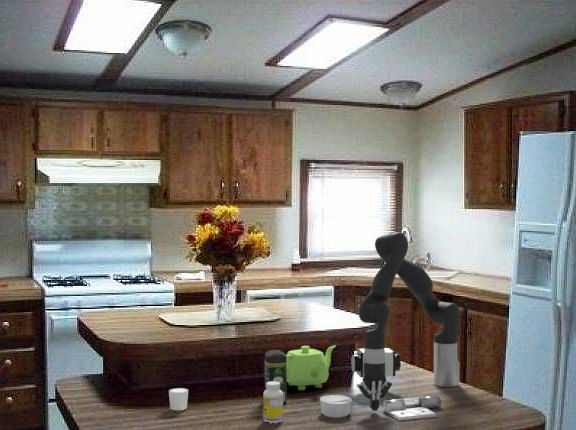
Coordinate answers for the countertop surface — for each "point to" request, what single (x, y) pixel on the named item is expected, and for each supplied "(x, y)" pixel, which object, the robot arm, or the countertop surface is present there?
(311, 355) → the teapot
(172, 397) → the shot glass
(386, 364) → the ball valve
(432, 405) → the fixed leaf
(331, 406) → the ramekin
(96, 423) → the countertop surface
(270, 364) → the coffee jar
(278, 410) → the supplement bottle
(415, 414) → the loose leaf
